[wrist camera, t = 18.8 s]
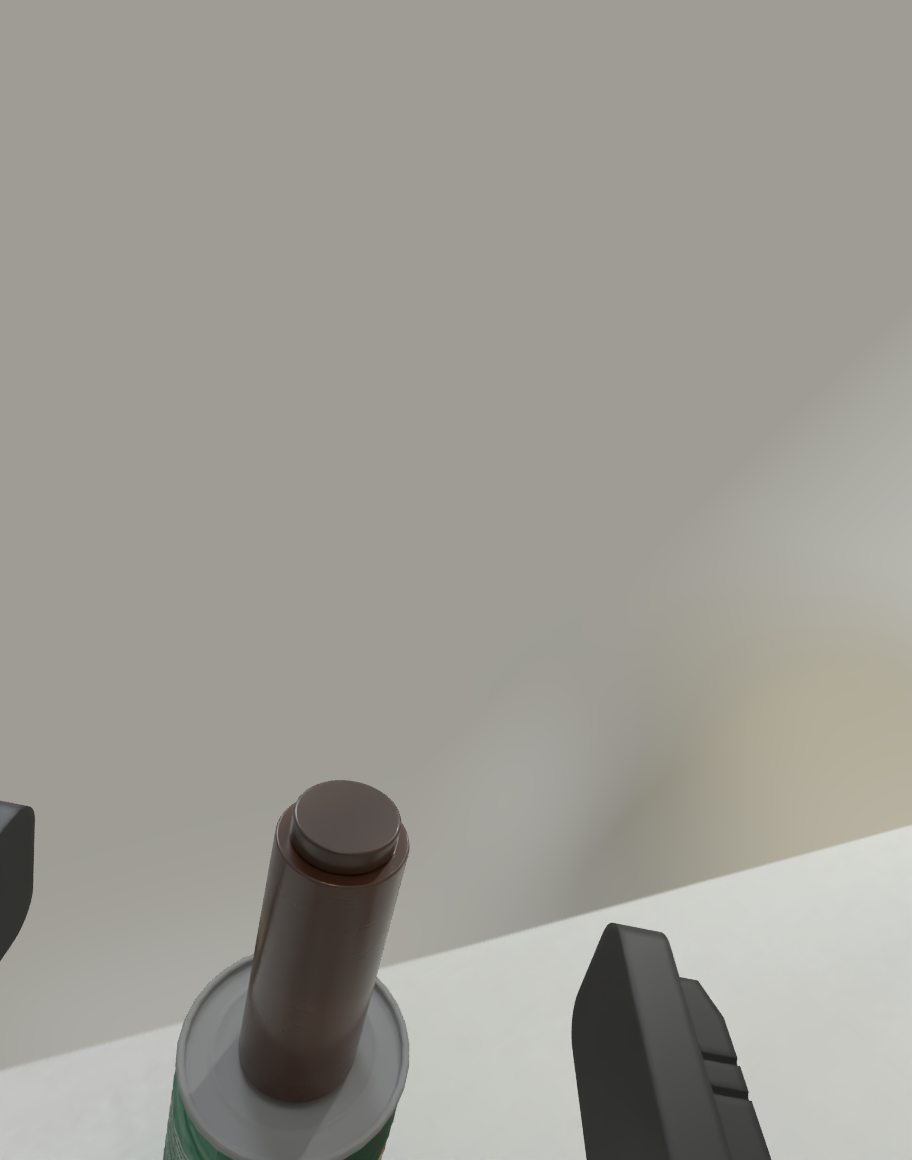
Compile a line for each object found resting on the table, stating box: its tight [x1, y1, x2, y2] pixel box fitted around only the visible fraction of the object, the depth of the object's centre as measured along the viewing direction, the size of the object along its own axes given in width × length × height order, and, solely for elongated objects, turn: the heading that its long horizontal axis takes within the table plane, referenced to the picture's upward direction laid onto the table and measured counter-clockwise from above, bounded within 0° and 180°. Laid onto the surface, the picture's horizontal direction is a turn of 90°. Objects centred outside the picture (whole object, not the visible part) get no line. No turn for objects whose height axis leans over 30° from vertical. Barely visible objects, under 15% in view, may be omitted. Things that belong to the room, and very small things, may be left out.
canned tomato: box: [163, 954, 409, 1160], centre depth 28 cm, size 8×8×11 cm
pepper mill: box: [239, 780, 409, 1103], centre depth 24 cm, size 4×4×10 cm
